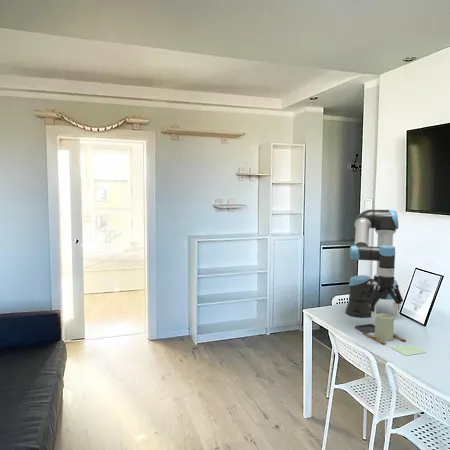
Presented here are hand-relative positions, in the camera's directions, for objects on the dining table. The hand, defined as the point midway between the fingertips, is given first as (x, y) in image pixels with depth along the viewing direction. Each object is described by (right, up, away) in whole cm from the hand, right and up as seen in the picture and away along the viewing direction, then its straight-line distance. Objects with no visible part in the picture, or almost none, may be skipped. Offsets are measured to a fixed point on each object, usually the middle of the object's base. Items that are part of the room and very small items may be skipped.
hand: (384, 316), depth 204 cm
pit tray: (-4, -10, +13) cm, 17 cm away
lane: (0, -11, +1) cm, 11 cm away
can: (0, -11, +1) cm, 11 cm away
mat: (+5, -13, -15) cm, 20 cm away
